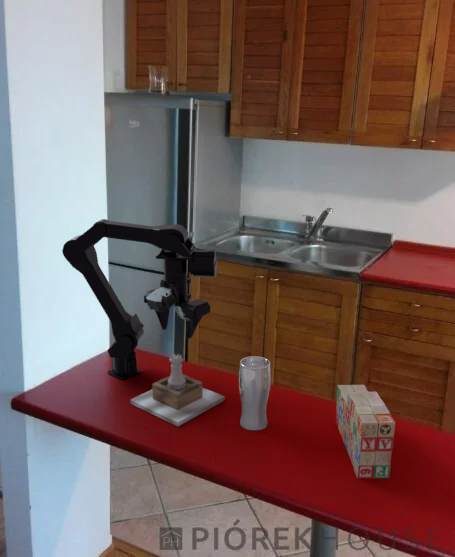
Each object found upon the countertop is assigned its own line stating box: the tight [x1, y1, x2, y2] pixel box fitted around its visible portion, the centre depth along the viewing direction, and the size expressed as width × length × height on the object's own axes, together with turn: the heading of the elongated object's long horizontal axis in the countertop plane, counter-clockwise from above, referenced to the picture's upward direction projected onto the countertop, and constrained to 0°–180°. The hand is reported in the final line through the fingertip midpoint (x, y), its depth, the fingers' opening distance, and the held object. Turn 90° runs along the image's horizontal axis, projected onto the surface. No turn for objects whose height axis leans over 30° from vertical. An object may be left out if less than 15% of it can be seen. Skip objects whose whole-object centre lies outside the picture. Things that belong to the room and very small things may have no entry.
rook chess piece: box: [168, 353, 186, 390], centre depth 136 cm, size 4×4×8 cm
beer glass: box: [238, 355, 272, 432], centre depth 127 cm, size 7×7×15 cm
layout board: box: [129, 374, 226, 427], centre depth 137 cm, size 16×16×5 cm
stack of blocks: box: [335, 384, 396, 479], centre depth 118 cm, size 21×6×12 cm, turn 1°
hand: (176, 333), depth 148 cm, fingers open, 9 cm apart
